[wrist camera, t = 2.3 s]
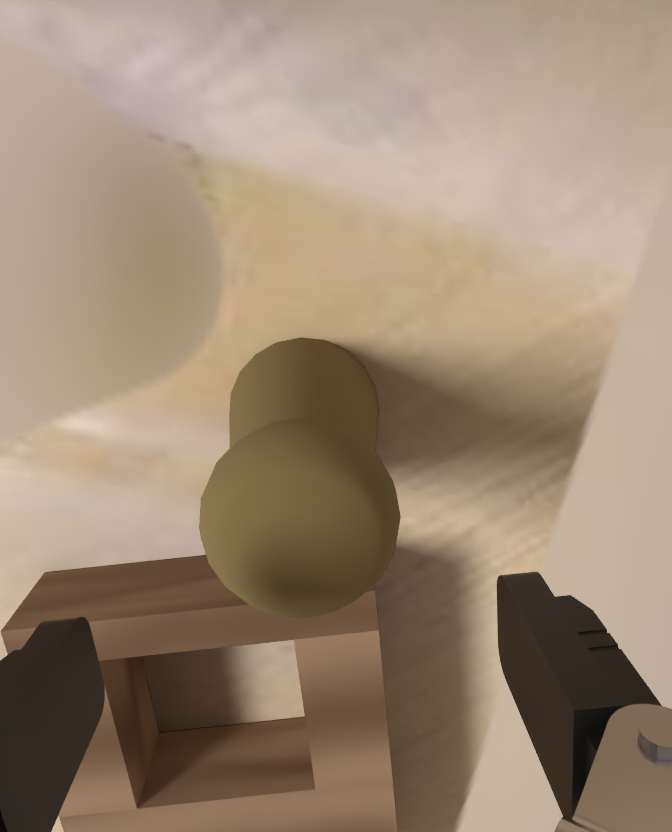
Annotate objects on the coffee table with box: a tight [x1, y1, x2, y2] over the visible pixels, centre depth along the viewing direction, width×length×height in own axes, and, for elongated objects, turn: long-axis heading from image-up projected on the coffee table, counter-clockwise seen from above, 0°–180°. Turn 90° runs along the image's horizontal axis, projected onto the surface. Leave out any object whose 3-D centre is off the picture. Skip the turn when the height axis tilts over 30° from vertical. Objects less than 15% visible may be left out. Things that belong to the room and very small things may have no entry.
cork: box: [199, 338, 400, 618], centre depth 20 cm, size 6×6×11 cm
